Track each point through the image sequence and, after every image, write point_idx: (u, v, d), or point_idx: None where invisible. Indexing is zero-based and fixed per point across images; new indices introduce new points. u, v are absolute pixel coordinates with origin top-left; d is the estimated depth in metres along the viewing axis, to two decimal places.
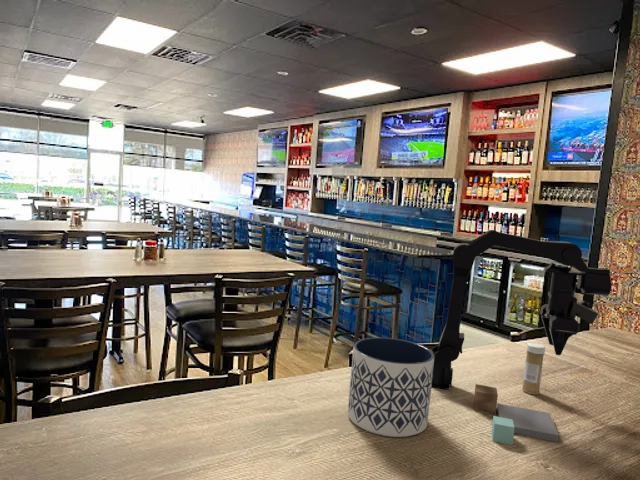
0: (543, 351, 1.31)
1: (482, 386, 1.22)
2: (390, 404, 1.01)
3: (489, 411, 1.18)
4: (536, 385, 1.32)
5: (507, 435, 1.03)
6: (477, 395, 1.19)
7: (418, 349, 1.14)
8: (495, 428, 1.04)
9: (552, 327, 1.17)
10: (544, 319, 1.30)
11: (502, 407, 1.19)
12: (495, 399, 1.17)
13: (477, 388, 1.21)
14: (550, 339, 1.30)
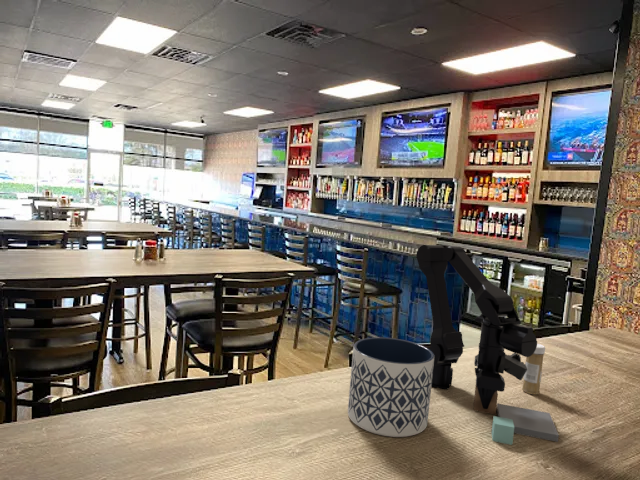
0: (543, 351, 1.31)
1: None
2: (389, 404, 1.01)
3: (489, 411, 1.18)
4: (536, 385, 1.32)
5: (507, 435, 1.03)
6: (477, 395, 1.19)
7: (418, 349, 1.14)
8: (495, 428, 1.04)
9: (477, 385, 1.12)
10: (477, 373, 1.24)
11: (502, 407, 1.19)
12: (495, 399, 1.17)
13: None
14: None
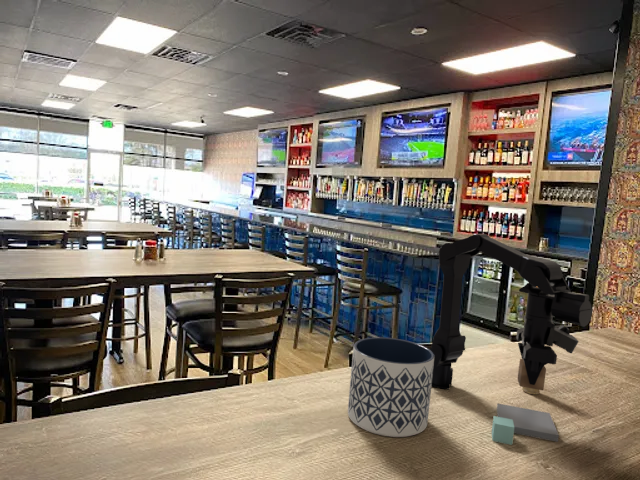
0: None
1: None
2: (390, 404, 1.01)
3: (536, 386, 1.10)
4: None
5: (507, 435, 1.03)
6: (523, 369, 1.10)
7: (418, 349, 1.14)
8: (495, 428, 1.04)
9: (526, 357, 1.04)
10: (521, 347, 1.16)
11: (502, 407, 1.19)
12: (543, 373, 1.09)
13: (523, 362, 1.12)
14: None
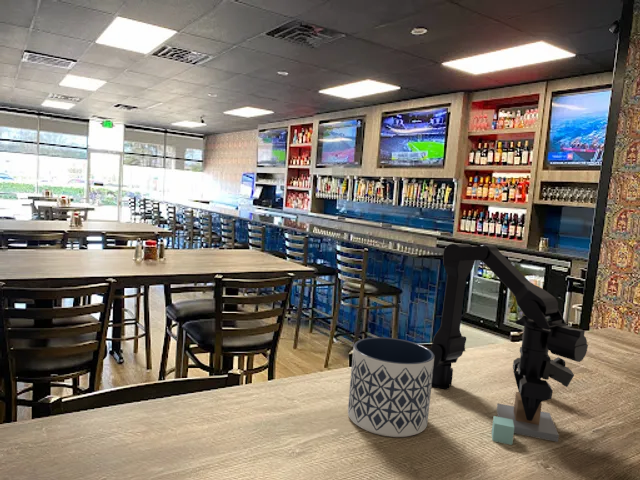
0: None
1: None
2: (390, 404, 1.01)
3: (532, 421, 1.11)
4: None
5: (507, 435, 1.03)
6: (519, 404, 1.11)
7: (418, 349, 1.14)
8: (495, 428, 1.04)
9: (522, 392, 1.05)
10: (516, 376, 1.18)
11: (502, 407, 1.19)
12: (539, 408, 1.10)
13: (518, 396, 1.13)
14: None
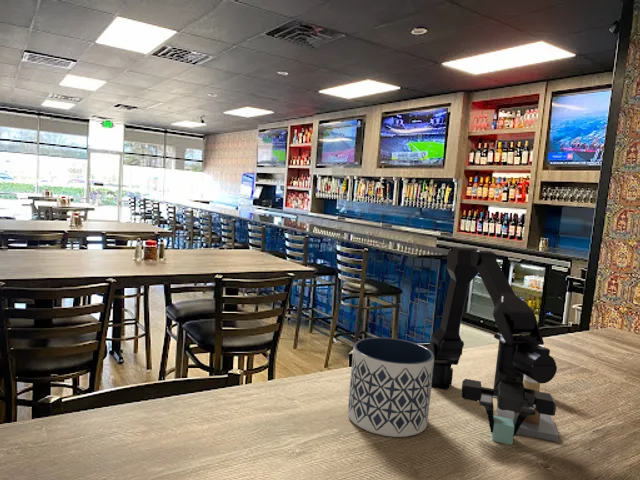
0: None
1: None
2: (390, 404, 1.01)
3: (532, 421, 1.11)
4: (536, 385, 1.32)
5: (507, 435, 1.03)
6: None
7: (418, 349, 1.14)
8: (495, 427, 1.04)
9: None
10: None
11: None
12: None
13: None
14: None
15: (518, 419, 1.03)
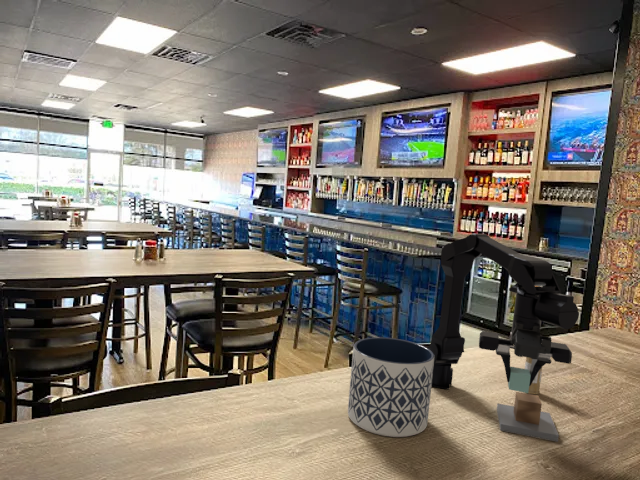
0: None
1: (523, 394, 1.15)
2: (389, 404, 1.01)
3: (532, 421, 1.11)
4: (536, 385, 1.32)
5: (523, 383, 1.06)
6: (519, 404, 1.11)
7: (418, 349, 1.14)
8: (511, 376, 1.07)
9: None
10: None
11: (502, 407, 1.19)
12: (539, 408, 1.10)
13: (518, 396, 1.13)
14: None
15: (534, 368, 1.06)
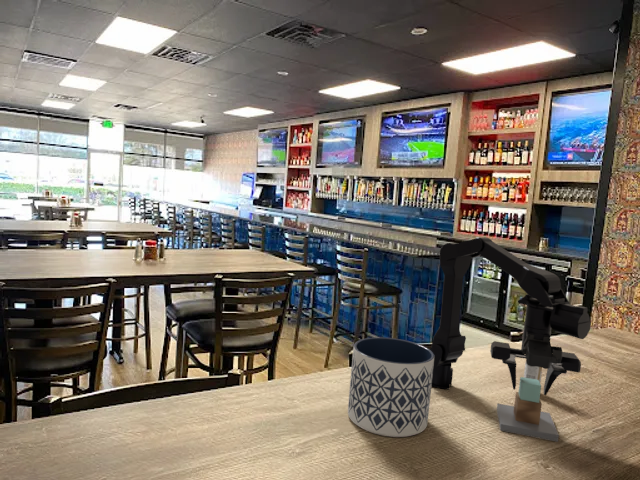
0: None
1: None
2: (390, 404, 1.01)
3: (532, 421, 1.11)
4: None
5: (534, 393, 1.11)
6: (519, 404, 1.11)
7: (418, 349, 1.14)
8: (523, 387, 1.11)
9: None
10: None
11: (502, 407, 1.19)
12: (539, 408, 1.10)
13: (518, 396, 1.13)
14: (544, 387, 1.12)
15: (550, 378, 1.10)
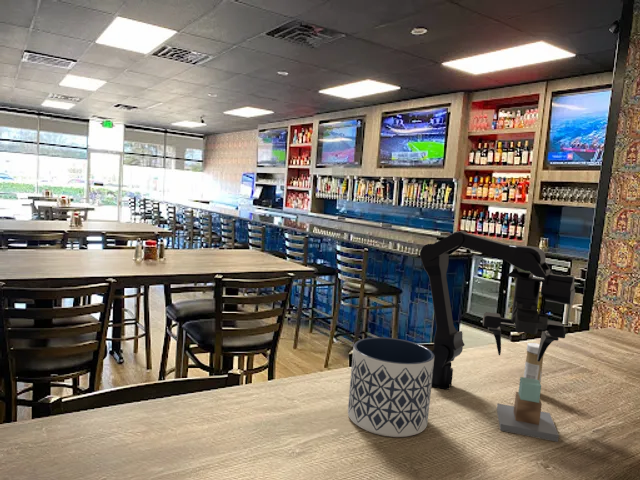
0: None
1: None
2: (390, 404, 1.01)
3: (532, 421, 1.11)
4: None
5: (534, 393, 1.11)
6: (519, 404, 1.11)
7: (418, 349, 1.14)
8: (523, 387, 1.11)
9: None
10: (542, 333, 1.22)
11: (502, 407, 1.19)
12: (539, 408, 1.10)
13: (518, 396, 1.13)
14: (538, 354, 1.21)
15: (543, 345, 1.19)
